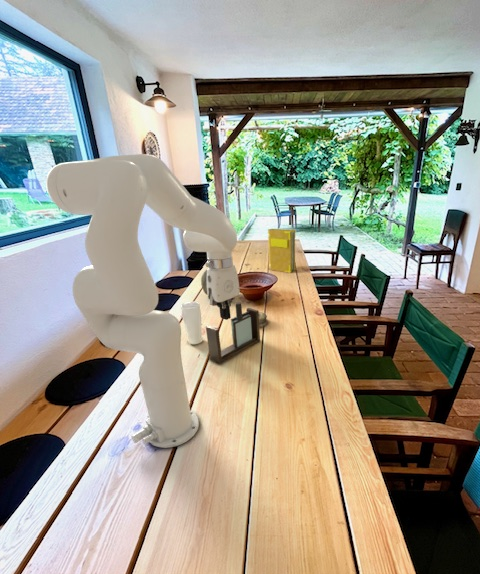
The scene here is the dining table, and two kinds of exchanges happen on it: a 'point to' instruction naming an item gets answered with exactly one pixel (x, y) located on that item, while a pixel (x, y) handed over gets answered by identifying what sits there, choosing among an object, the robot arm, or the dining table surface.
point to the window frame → (231, 351)
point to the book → (281, 250)
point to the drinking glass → (192, 321)
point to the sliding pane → (241, 327)
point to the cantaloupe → (204, 282)
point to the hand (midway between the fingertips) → (225, 318)
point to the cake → (262, 319)
